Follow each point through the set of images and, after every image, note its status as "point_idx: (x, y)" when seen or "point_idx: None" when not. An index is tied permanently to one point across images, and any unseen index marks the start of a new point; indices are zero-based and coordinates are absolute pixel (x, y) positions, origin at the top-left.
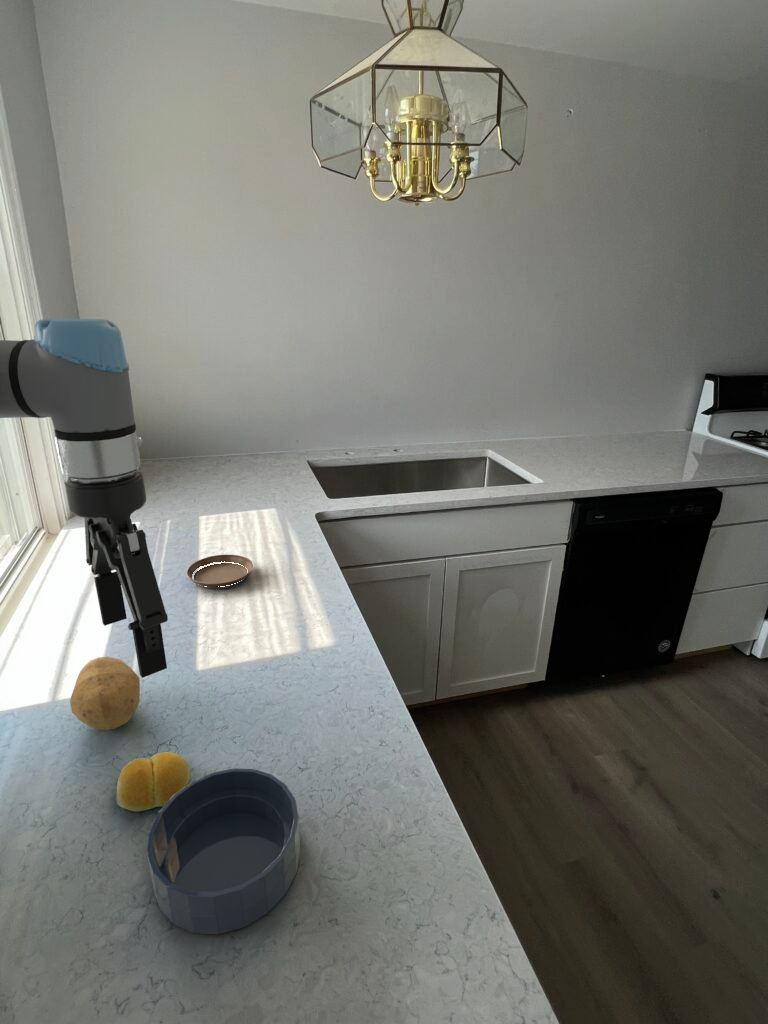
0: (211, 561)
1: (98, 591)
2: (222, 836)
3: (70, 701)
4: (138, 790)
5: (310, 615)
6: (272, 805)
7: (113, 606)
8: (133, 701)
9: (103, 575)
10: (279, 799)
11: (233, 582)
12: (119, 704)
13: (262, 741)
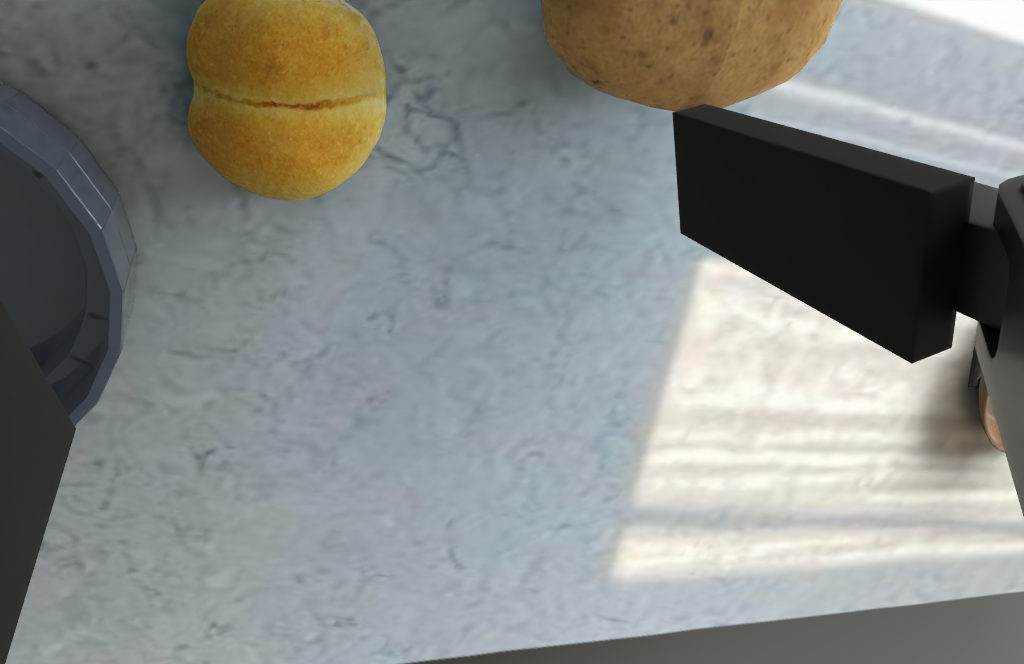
0: None
1: (841, 167)
2: (12, 247)
3: None
4: (216, 52)
5: (748, 542)
6: None
7: (738, 206)
8: (598, 85)
9: (954, 252)
10: None
11: (982, 397)
12: (579, 44)
13: (344, 381)
